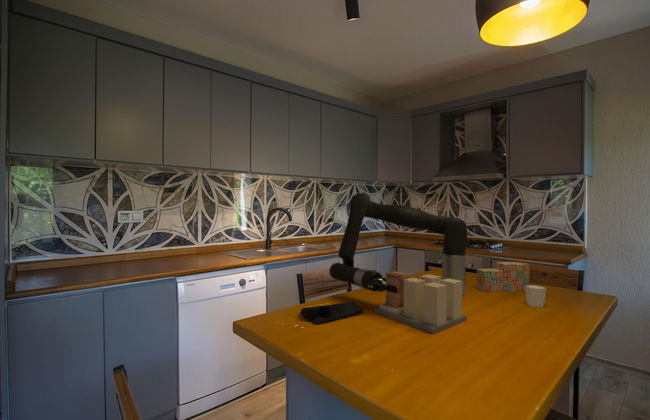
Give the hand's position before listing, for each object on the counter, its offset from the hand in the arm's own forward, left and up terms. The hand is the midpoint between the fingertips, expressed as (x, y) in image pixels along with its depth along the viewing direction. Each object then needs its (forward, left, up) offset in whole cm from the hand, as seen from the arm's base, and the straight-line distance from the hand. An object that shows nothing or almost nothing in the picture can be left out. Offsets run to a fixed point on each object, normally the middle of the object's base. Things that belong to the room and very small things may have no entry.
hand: (401, 288), depth 113 cm
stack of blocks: (-64, +5, -10) cm, 65 cm away
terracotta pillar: (0, -3, -7) cm, 7 cm away
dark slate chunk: (+19, -16, -10) cm, 27 cm away
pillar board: (-4, +4, -9) cm, 11 cm away
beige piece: (-51, +23, -10) cm, 57 cm away
